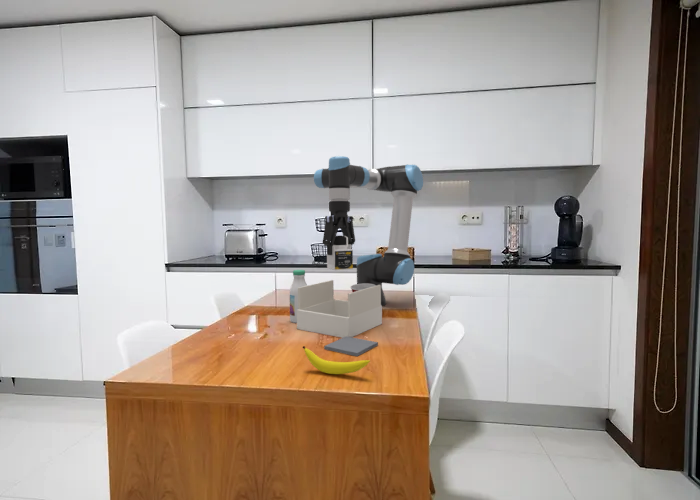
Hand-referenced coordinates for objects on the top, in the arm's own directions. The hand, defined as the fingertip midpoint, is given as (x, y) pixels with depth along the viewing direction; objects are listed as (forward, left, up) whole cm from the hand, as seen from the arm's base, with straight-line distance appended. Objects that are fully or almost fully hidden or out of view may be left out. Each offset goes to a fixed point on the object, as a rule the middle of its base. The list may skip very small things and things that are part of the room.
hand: (339, 263), depth 146 cm
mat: (+17, +16, -24) cm, 33 cm away
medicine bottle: (0, 0, -2) cm, 2 cm away
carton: (-1, -1, -24) cm, 24 cm away
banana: (+37, +25, -24) cm, 50 cm away
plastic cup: (-22, -4, -24) cm, 33 cm away
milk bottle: (+1, -19, -24) cm, 31 cm away
